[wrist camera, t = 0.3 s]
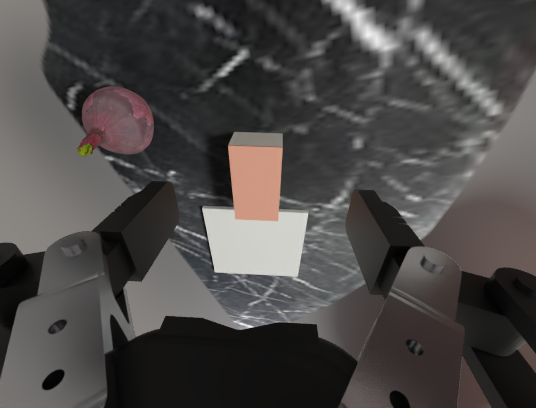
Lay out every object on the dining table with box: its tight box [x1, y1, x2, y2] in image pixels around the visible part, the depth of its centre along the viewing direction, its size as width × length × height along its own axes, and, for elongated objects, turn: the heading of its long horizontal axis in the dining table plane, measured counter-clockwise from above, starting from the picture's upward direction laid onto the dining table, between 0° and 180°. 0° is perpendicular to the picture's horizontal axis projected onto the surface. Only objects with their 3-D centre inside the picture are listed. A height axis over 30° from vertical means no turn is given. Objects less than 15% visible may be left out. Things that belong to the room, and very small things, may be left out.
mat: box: [202, 206, 308, 277], centre depth 37 cm, size 15×15×1 cm
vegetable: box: [77, 86, 154, 156], centre depth 21 cm, size 6×6×10 cm
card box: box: [228, 132, 283, 221], centre depth 28 cm, size 10×6×4 cm, turn 179°
